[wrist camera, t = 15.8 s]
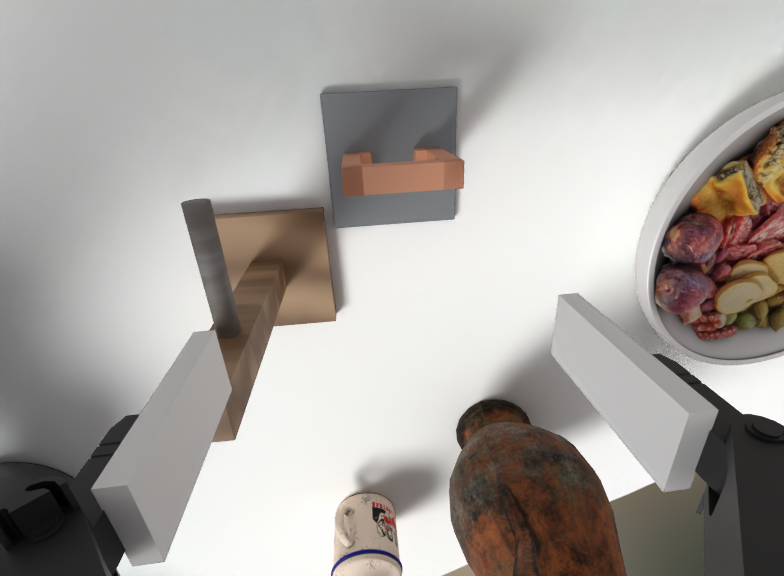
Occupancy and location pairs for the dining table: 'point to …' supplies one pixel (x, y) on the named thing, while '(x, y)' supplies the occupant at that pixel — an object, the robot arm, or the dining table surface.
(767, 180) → the bowl
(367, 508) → the teacup with lid
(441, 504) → the dining table surface
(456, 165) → the c link
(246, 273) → the hook stand
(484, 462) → the pitcher
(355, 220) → the coaster
